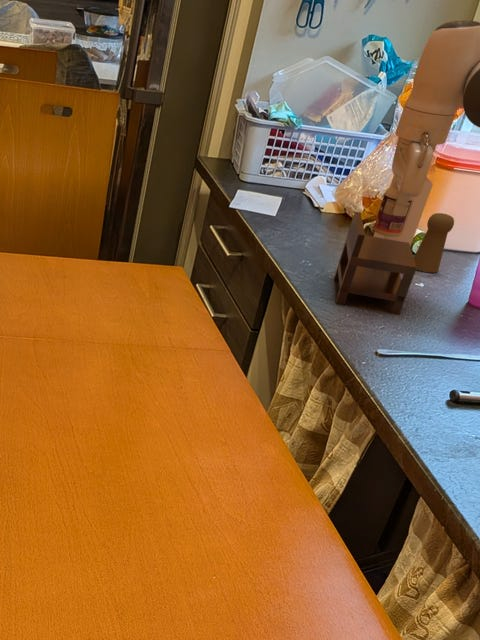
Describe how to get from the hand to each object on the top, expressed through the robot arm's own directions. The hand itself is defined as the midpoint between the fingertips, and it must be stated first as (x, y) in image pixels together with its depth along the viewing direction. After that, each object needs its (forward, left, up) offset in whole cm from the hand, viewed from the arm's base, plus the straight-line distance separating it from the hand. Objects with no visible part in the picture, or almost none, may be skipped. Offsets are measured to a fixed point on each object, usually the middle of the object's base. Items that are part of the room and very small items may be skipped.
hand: (395, 209), depth 175 cm
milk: (-4, -16, -16) cm, 23 cm away
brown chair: (0, 0, -16) cm, 16 cm away
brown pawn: (-14, -26, -16) cm, 34 cm away
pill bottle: (0, 0, -4) cm, 4 cm away
